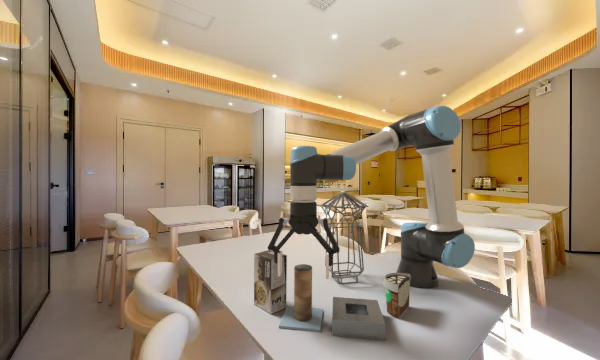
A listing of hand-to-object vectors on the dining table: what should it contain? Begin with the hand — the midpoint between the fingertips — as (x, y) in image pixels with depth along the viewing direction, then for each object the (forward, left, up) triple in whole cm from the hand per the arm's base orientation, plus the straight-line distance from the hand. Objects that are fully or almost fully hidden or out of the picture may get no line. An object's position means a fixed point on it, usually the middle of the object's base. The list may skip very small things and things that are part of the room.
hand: (303, 276), depth 73 cm
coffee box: (+11, -6, -12) cm, 18 cm away
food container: (-27, -10, -12) cm, 31 cm away
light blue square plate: (0, 0, -12) cm, 12 cm away
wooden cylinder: (0, 0, -11) cm, 11 cm away
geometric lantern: (-12, -33, -12) cm, 37 cm away
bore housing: (-15, 0, -12) cm, 19 cm away
